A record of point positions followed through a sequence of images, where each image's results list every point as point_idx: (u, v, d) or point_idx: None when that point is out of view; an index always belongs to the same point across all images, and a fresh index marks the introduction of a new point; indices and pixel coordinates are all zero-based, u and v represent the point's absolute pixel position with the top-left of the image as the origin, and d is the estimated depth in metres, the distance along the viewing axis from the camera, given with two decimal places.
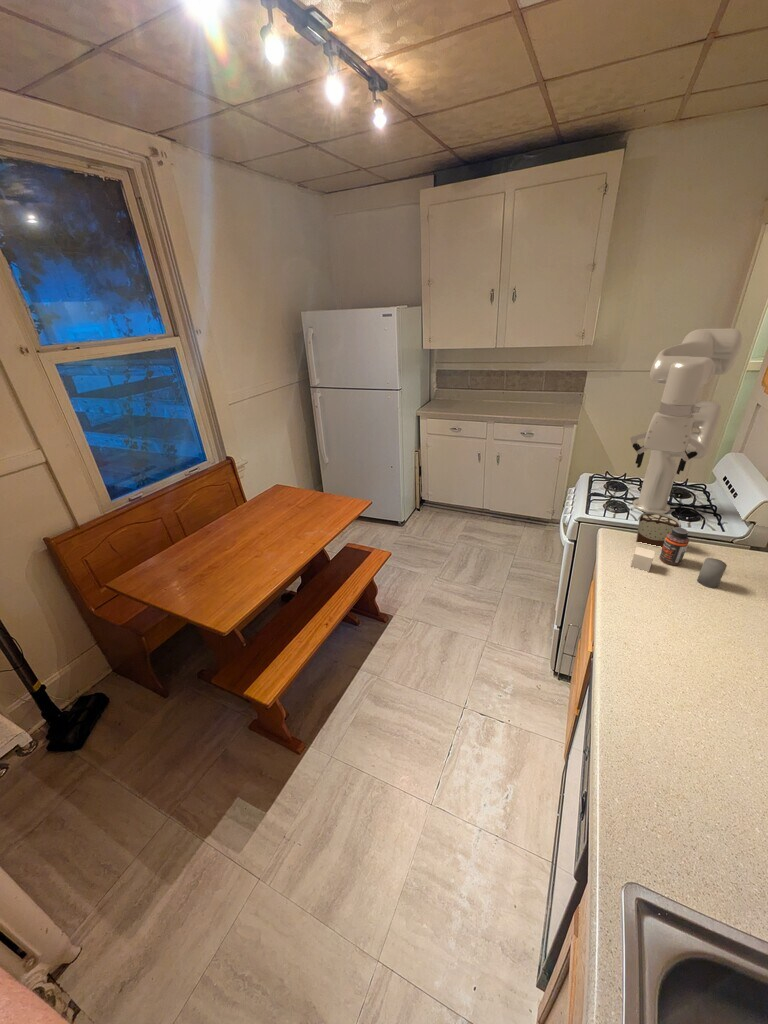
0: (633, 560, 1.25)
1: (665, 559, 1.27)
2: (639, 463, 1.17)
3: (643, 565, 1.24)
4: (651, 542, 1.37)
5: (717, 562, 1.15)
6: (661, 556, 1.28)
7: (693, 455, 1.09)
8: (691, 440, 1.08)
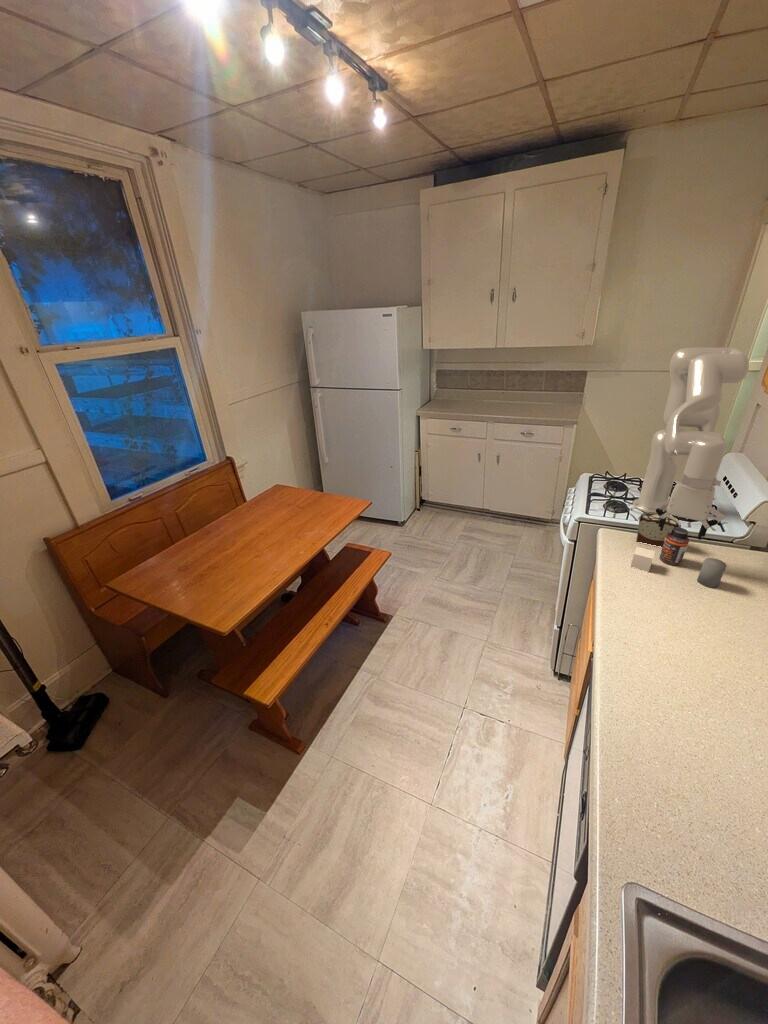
0: (633, 560, 1.25)
1: (665, 559, 1.27)
2: (662, 527, 1.24)
3: (643, 565, 1.24)
4: (651, 542, 1.37)
5: (717, 562, 1.15)
6: (661, 556, 1.28)
7: (714, 523, 1.17)
8: (712, 510, 1.16)
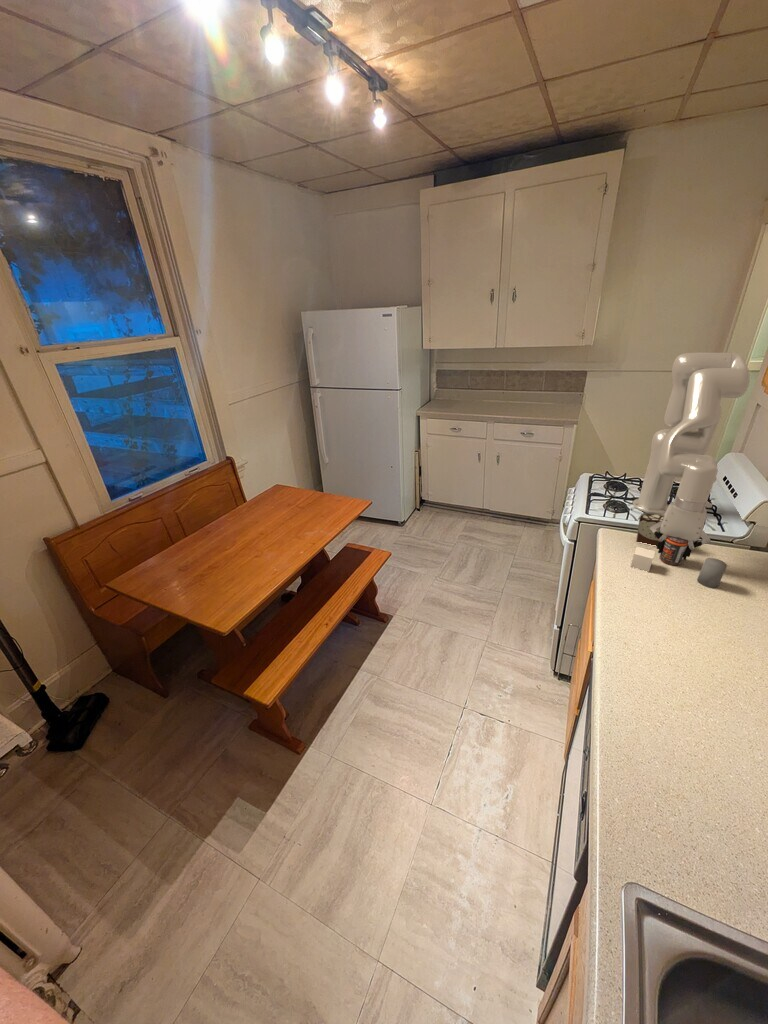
0: (633, 560, 1.25)
1: (665, 559, 1.27)
2: (660, 549, 1.28)
3: (643, 565, 1.24)
4: (651, 542, 1.37)
5: (717, 562, 1.15)
6: (661, 556, 1.28)
7: (698, 545, 1.21)
8: (702, 532, 1.20)
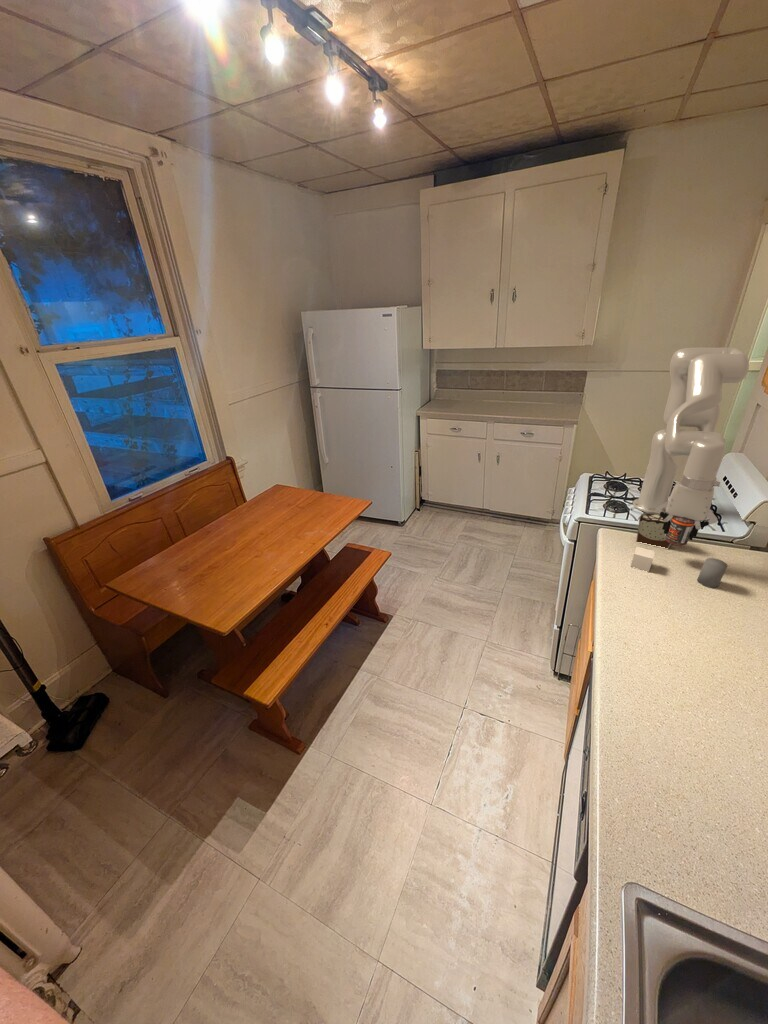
0: (633, 560, 1.25)
1: (671, 540, 1.25)
2: (666, 530, 1.25)
3: (643, 565, 1.24)
4: (651, 542, 1.37)
5: (717, 562, 1.15)
6: (667, 537, 1.26)
7: (705, 524, 1.19)
8: (709, 511, 1.17)
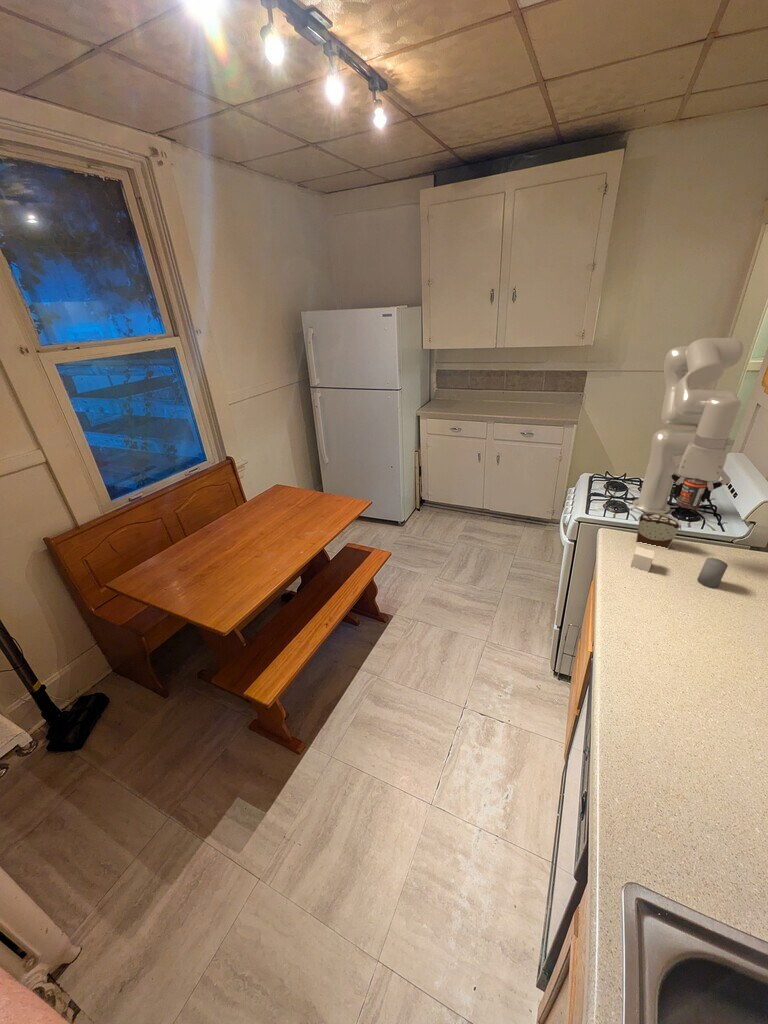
0: (633, 560, 1.25)
1: (682, 503, 1.23)
2: (677, 493, 1.23)
3: (643, 565, 1.24)
4: (651, 542, 1.37)
5: (718, 562, 1.15)
6: (678, 500, 1.24)
7: (718, 486, 1.17)
8: (722, 472, 1.15)
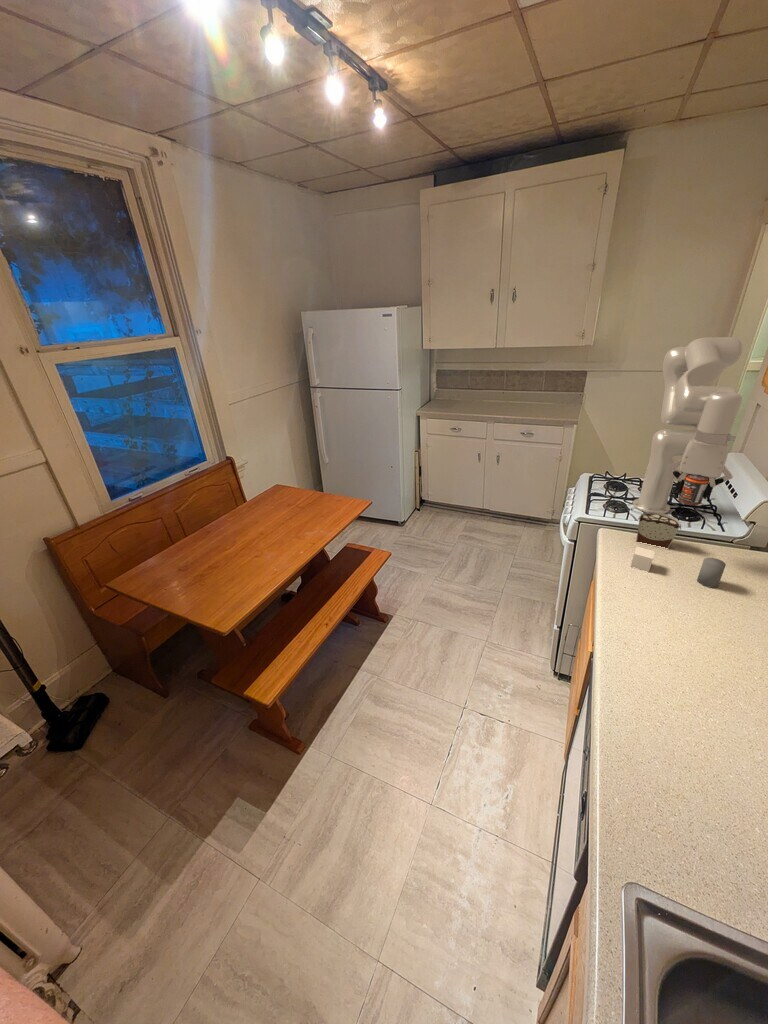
0: (633, 560, 1.25)
1: (684, 499, 1.22)
2: (679, 490, 1.23)
3: (643, 565, 1.24)
4: (651, 542, 1.37)
5: (715, 561, 1.16)
6: (680, 497, 1.23)
7: (720, 482, 1.17)
8: (724, 468, 1.15)
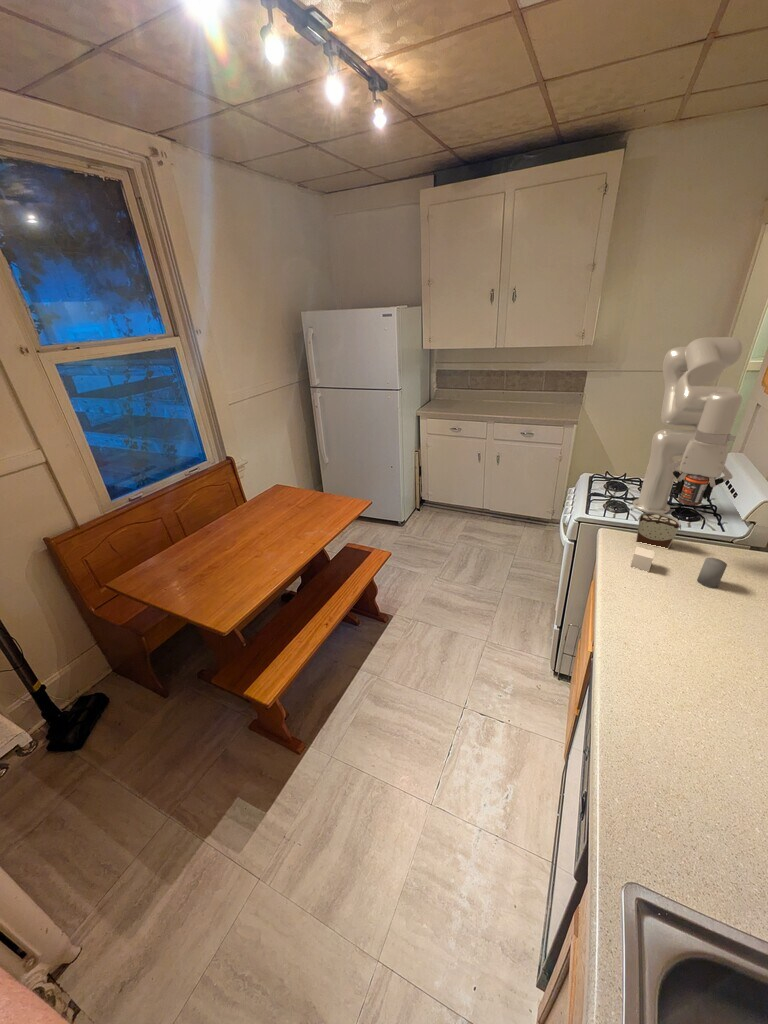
0: (633, 560, 1.25)
1: (684, 499, 1.22)
2: (679, 490, 1.23)
3: (643, 565, 1.24)
4: (651, 542, 1.37)
5: (717, 561, 1.16)
6: (680, 497, 1.23)
7: (720, 482, 1.17)
8: (724, 468, 1.15)
